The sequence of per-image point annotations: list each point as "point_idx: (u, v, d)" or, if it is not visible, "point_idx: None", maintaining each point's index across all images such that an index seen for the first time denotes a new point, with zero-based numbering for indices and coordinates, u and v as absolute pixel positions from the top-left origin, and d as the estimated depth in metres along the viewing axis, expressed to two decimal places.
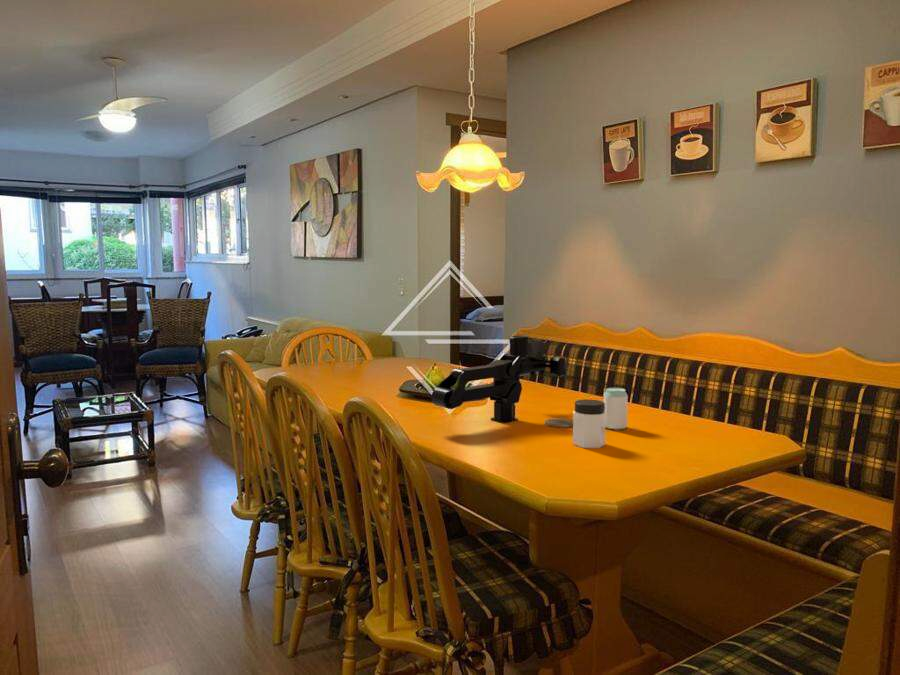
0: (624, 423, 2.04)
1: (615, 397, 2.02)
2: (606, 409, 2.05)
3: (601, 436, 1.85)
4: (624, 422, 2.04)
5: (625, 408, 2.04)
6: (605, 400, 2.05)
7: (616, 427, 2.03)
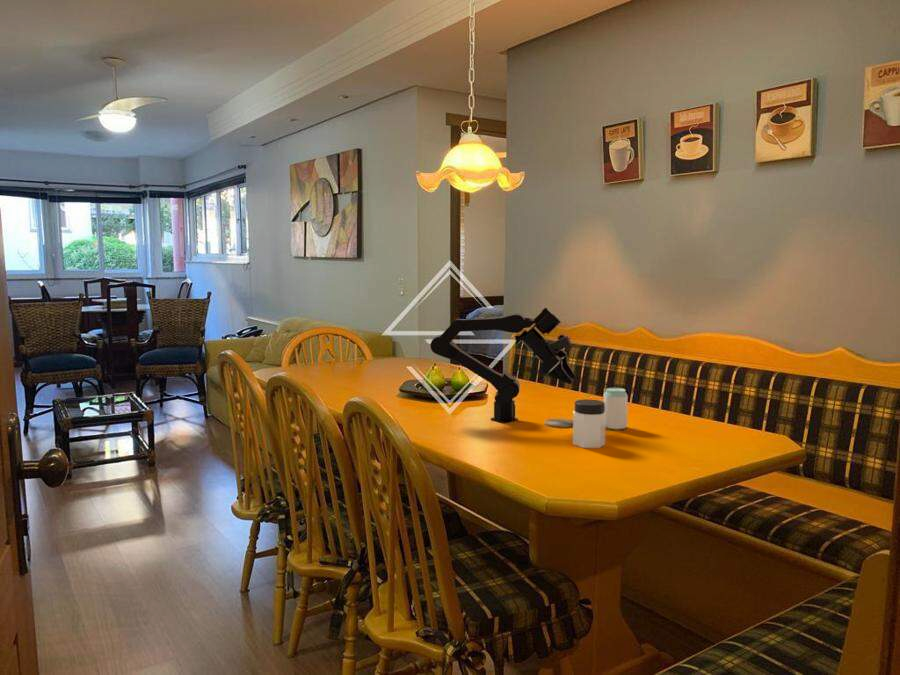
0: (624, 423, 2.04)
1: (615, 397, 2.02)
2: (606, 409, 2.05)
3: (601, 436, 1.85)
4: (624, 422, 2.04)
5: (625, 408, 2.04)
6: (605, 400, 2.05)
7: (616, 427, 2.03)
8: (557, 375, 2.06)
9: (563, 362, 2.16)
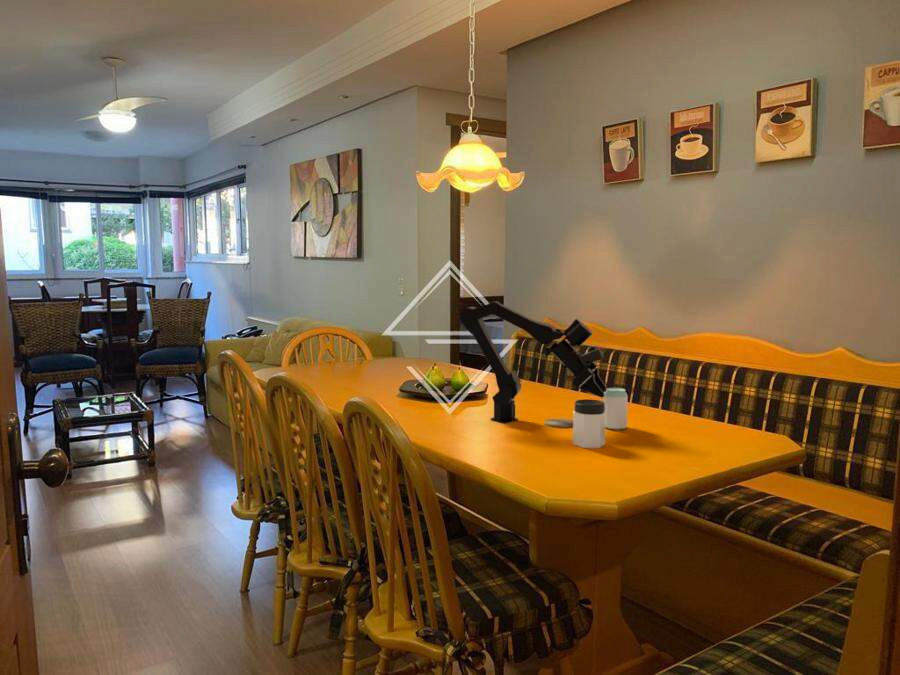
0: (624, 423, 2.04)
1: (615, 397, 2.02)
2: (606, 409, 2.05)
3: (601, 436, 1.85)
4: (624, 422, 2.04)
5: (625, 408, 2.04)
6: (605, 400, 2.05)
7: (616, 427, 2.03)
8: (589, 388, 2.02)
9: (594, 374, 2.12)
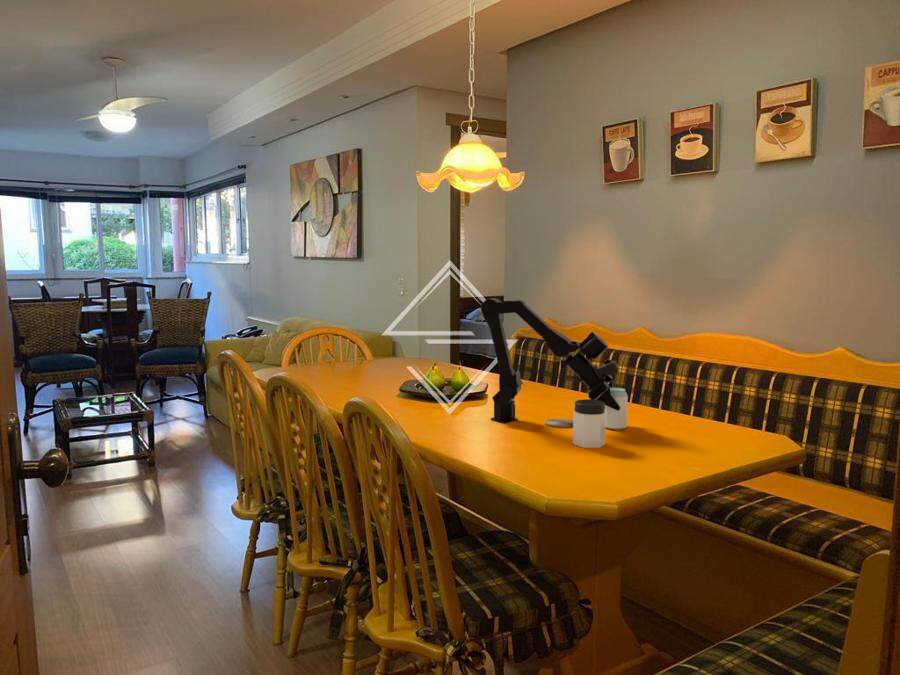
0: (624, 422, 2.04)
1: (615, 397, 2.02)
2: (606, 409, 2.05)
3: (601, 436, 1.85)
4: (624, 422, 2.04)
5: (625, 408, 2.04)
6: None
7: (616, 427, 2.03)
8: (605, 401, 2.02)
9: (609, 388, 2.10)
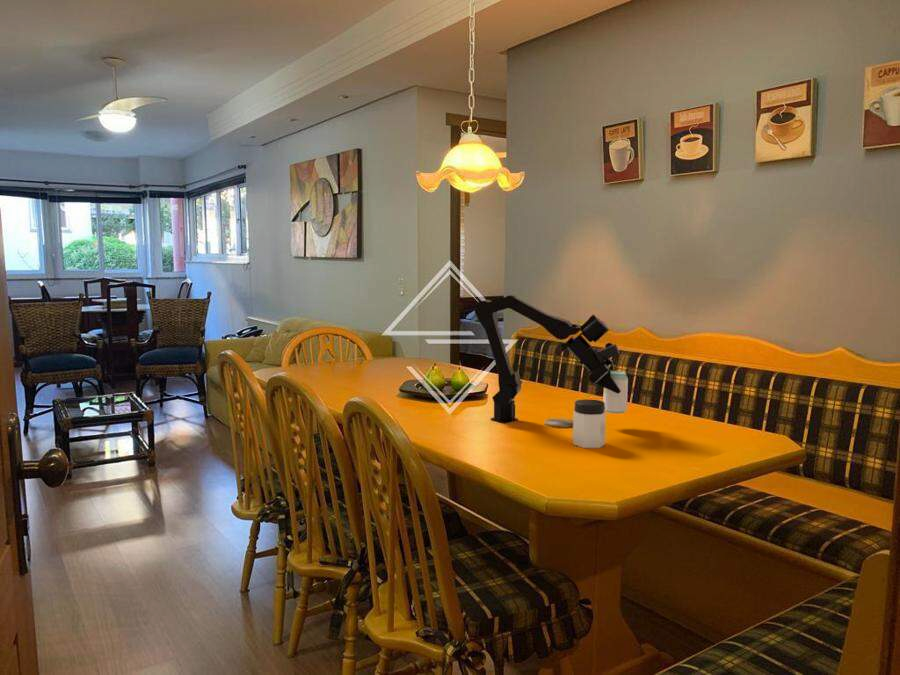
0: (624, 406, 2.03)
1: (615, 380, 2.02)
2: (606, 392, 2.04)
3: (601, 436, 1.85)
4: (624, 406, 2.04)
5: (625, 391, 2.03)
6: None
7: (616, 410, 2.03)
8: (605, 383, 2.01)
9: None
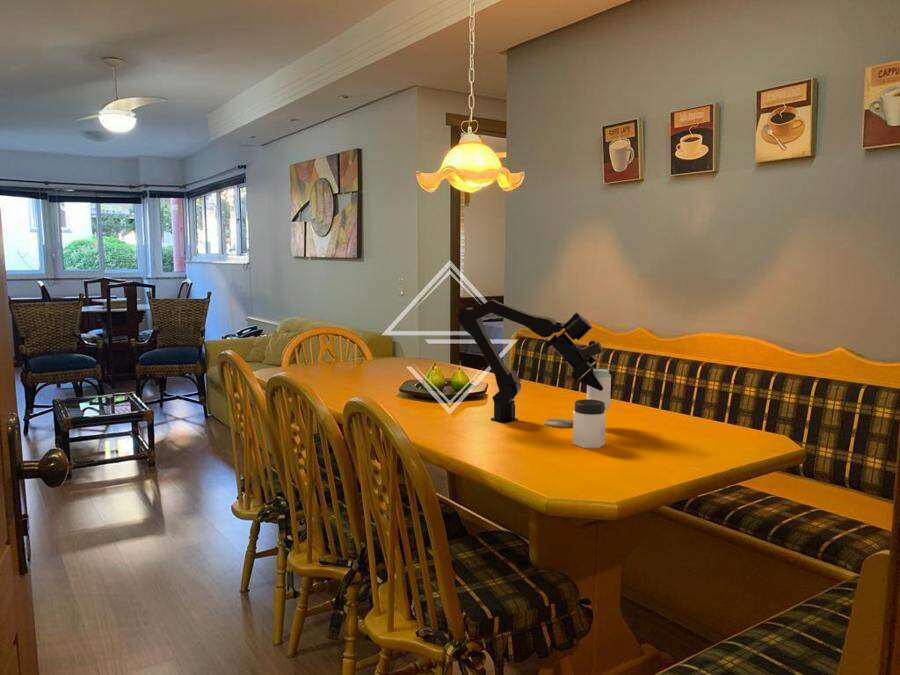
0: (607, 403, 2.05)
1: (598, 377, 2.03)
2: (589, 389, 2.05)
3: (601, 436, 1.85)
4: (607, 403, 2.05)
5: (608, 389, 2.05)
6: None
7: None
8: (588, 381, 2.03)
9: (593, 369, 2.11)
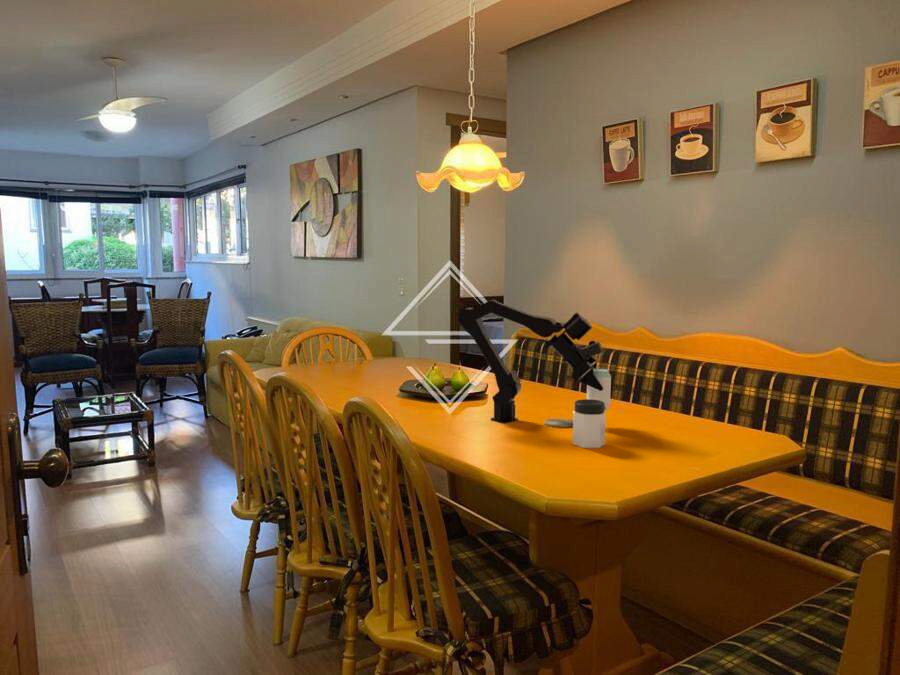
0: (607, 403, 2.05)
1: (598, 377, 2.03)
2: (589, 389, 2.06)
3: (601, 436, 1.85)
4: (607, 403, 2.05)
5: (608, 389, 2.05)
6: None
7: None
8: (588, 381, 2.03)
9: (593, 369, 2.11)
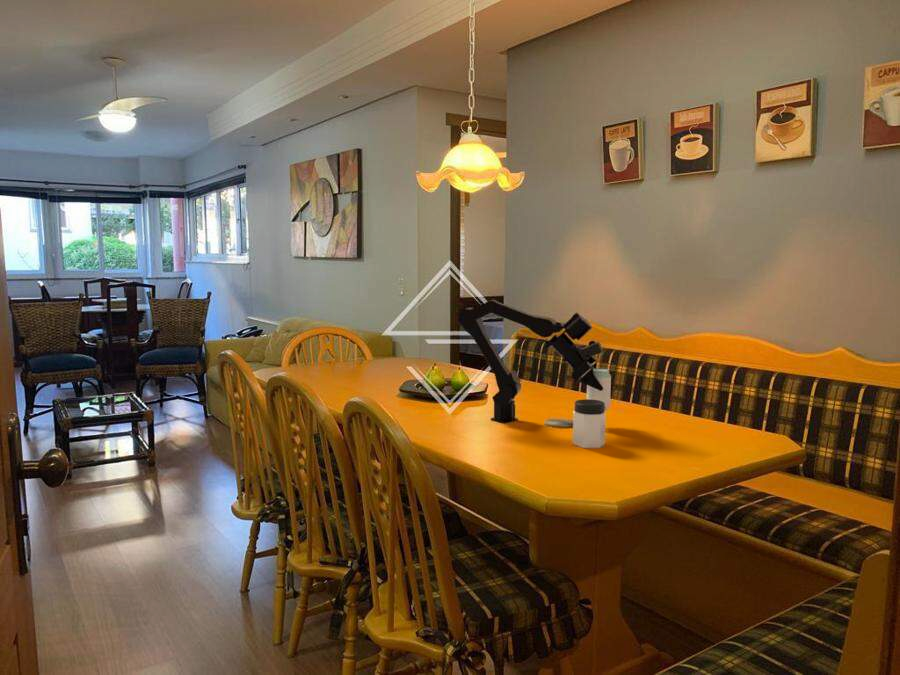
0: (607, 403, 2.05)
1: (598, 377, 2.03)
2: (589, 389, 2.06)
3: (601, 436, 1.85)
4: (607, 403, 2.05)
5: (608, 389, 2.05)
6: None
7: None
8: (588, 381, 2.03)
9: (593, 369, 2.11)
